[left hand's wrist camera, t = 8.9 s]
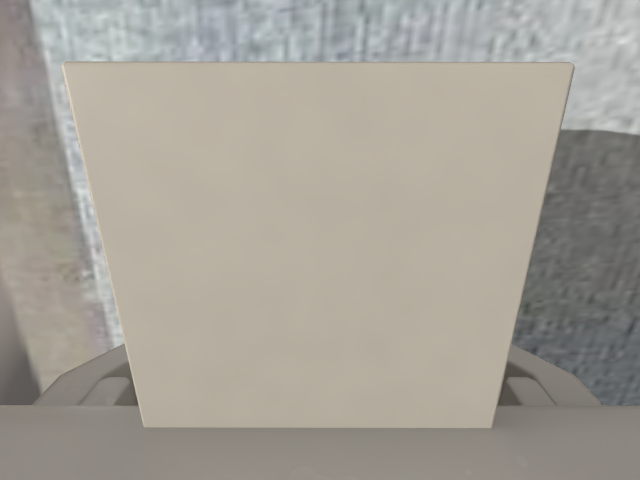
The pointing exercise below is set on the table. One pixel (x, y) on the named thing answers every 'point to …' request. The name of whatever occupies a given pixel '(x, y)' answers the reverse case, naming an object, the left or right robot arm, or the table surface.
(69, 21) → the table surface
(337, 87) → the beam
